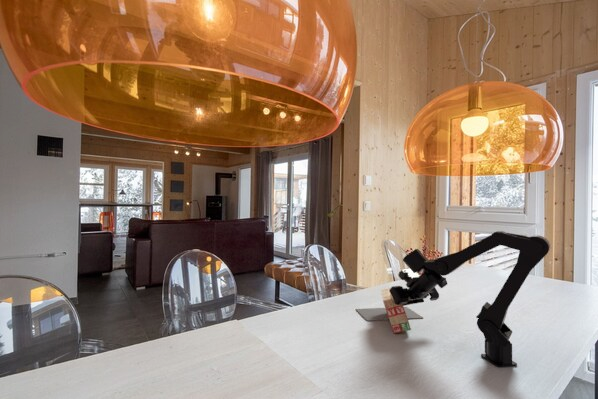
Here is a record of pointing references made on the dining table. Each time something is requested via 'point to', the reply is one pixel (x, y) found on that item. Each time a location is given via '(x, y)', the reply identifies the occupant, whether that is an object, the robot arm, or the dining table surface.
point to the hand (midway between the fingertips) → (403, 304)
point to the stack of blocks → (395, 313)
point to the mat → (384, 314)
